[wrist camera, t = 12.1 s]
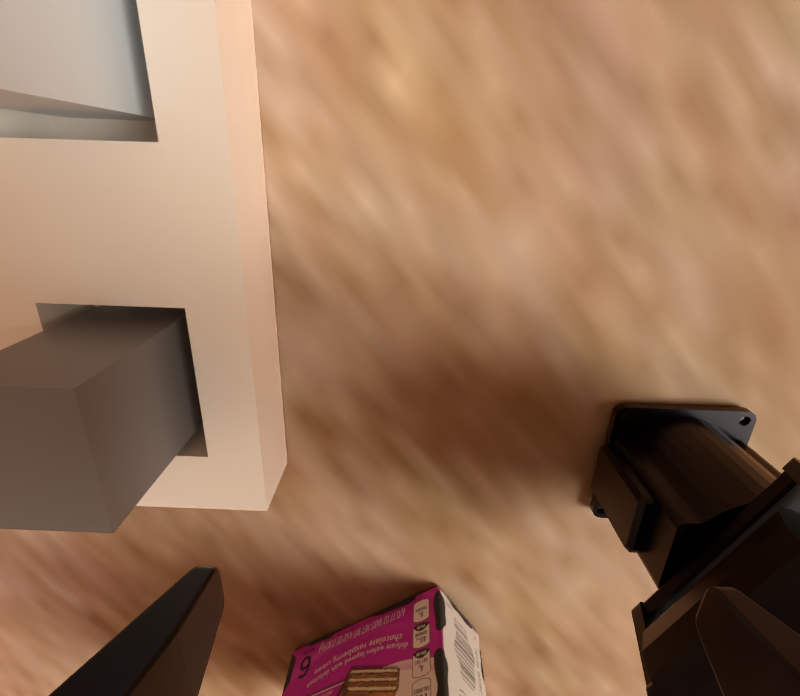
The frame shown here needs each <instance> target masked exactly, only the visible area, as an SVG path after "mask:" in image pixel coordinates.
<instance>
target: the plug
mask: <svg viewBox="0 0 800 696" xmlns="http://www.w3.org/2000/svg"><path fill="white" fill-rule="evenodd" d="M0 108H4V109H11V110H18V111H25V112H32V113H39V114H46V115H54V116H61V117H68V118H89V119H115V120H141V121H155V116H154V110H153V103H152V97H151V91H150V84H149V78H148V72H147V65H146V59H145V53H144V46H143V40H142V34H141V27H140V21H139V15H138V8H137V2H136V0H0Z"/></svg>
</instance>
